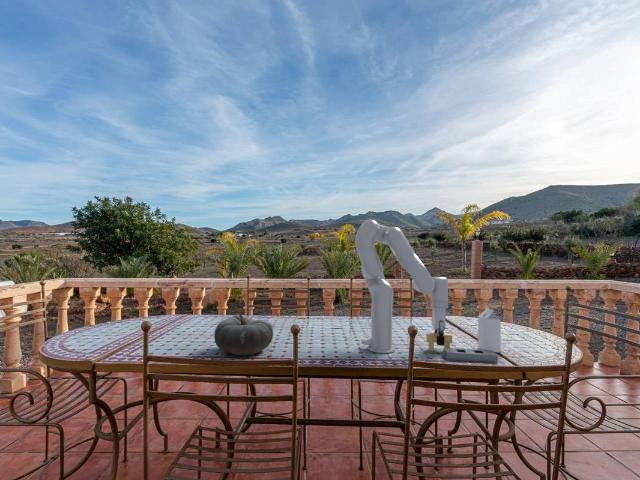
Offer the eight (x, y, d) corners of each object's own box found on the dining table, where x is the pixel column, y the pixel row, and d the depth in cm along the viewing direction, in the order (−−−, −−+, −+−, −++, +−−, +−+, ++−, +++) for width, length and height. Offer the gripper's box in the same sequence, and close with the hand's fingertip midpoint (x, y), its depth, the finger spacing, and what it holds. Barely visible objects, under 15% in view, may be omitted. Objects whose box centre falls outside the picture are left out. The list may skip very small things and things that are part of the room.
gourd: (228, 336, 179) (233, 302, 177) (277, 348, 174) (282, 313, 173) (202, 356, 154) (207, 317, 152) (258, 370, 150) (264, 330, 148)
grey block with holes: (446, 359, 154) (446, 352, 154) (443, 354, 162) (443, 347, 162) (497, 362, 151) (497, 355, 151) (491, 357, 159) (491, 350, 159)
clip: (427, 350, 167) (427, 334, 168) (426, 349, 170) (426, 332, 171) (452, 352, 166) (452, 335, 166) (451, 350, 169) (451, 333, 169)
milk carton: (492, 348, 173) (492, 307, 173) (500, 352, 166) (500, 310, 166) (478, 348, 173) (478, 307, 173) (485, 352, 166) (485, 310, 166)
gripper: (428, 301, 178) (428, 338, 177) (433, 306, 161) (433, 347, 160) (444, 301, 177) (444, 338, 176) (451, 307, 159) (451, 348, 159)
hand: (439, 342), depth 168 cm, fingers open, 7 cm apart
